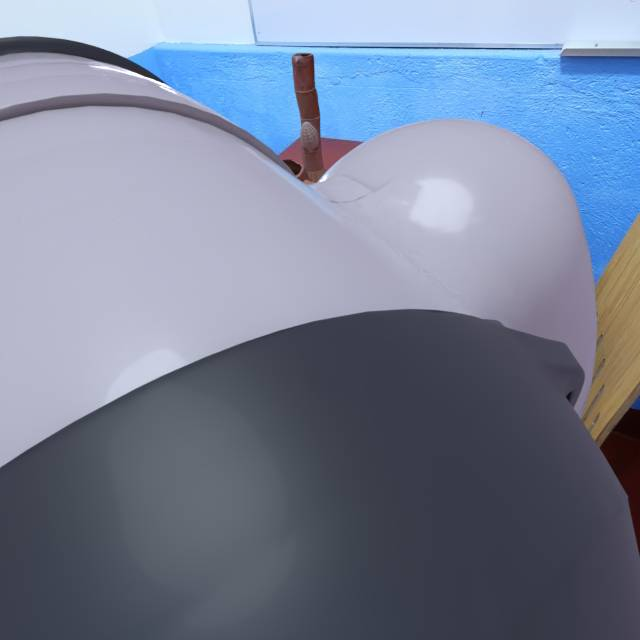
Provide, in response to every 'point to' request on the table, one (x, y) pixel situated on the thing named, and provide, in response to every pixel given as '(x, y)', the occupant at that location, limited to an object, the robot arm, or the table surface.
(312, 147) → the vase
